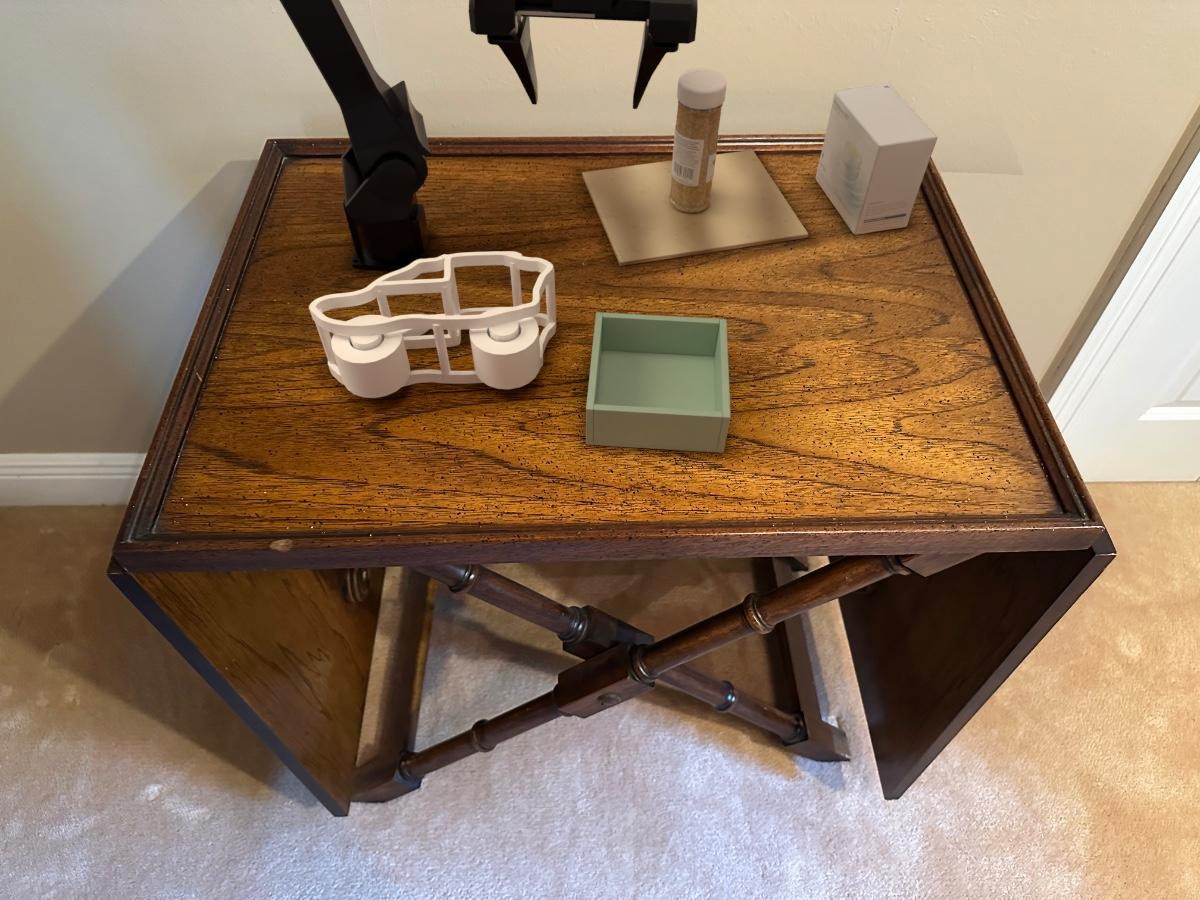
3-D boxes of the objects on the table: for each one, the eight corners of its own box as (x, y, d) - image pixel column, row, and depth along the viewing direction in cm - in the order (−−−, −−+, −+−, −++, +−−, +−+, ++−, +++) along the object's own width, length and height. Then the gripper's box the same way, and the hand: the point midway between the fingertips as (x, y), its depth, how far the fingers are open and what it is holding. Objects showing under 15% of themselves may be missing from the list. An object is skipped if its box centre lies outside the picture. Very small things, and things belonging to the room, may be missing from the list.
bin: (586, 444, 68) (585, 409, 64) (595, 348, 75) (596, 311, 71) (723, 453, 67) (730, 417, 64) (720, 355, 74) (726, 318, 71)
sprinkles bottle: (719, 205, 87) (737, 82, 77) (684, 219, 86) (698, 95, 75) (692, 184, 90) (706, 61, 79) (658, 197, 88) (668, 74, 78)
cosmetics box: (811, 179, 92) (833, 88, 83) (865, 172, 93) (891, 81, 84) (851, 236, 85) (879, 143, 77) (908, 228, 86) (941, 135, 78)
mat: (619, 266, 82) (619, 262, 81) (582, 176, 91) (582, 172, 91) (807, 237, 85) (808, 233, 85) (752, 153, 95) (752, 149, 94)
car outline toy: (324, 414, 69) (301, 351, 63) (337, 324, 76) (317, 260, 70) (563, 399, 71) (561, 336, 65) (554, 311, 77) (552, 247, 72)
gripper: (704, -120, 69) (686, 66, 81) (480, -128, 69) (496, 58, 81) (706, -68, 62) (686, 127, 74) (457, -78, 62) (478, 117, 74)
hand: (584, 104), depth 76 cm, fingers open, 9 cm apart
